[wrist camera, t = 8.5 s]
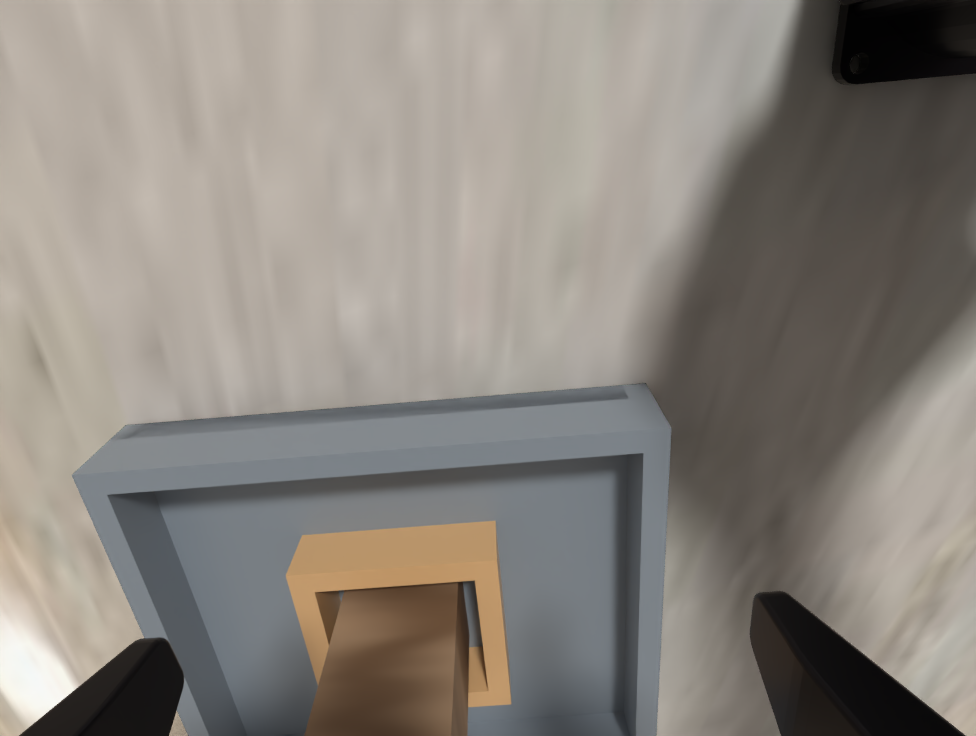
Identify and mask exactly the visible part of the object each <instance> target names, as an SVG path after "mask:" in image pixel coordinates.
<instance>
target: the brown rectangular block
mask: <svg viewBox="0 0 976 736" xmlns="http://www.w3.org/2000/svg"><path fill="white" fill-rule="evenodd" d="M469 637H470V634H469V626H468V619H467V611H466V603H465V596H464V588H463V581H461V582H448V583H434V584H420V585H406V586H393V587H379V588H365V589H352V590H344V594H343V597H342V601H341V605H340V608H339V612H338V615H337V619H336V623H335V626H334V630H333V634H332V637H331V641H330V644H329V648H328V652H327V655H326V659H325V663H324V666H323V670H322V673H321V677H320V681H319V684H318V688H317V692H316V695H315V699H314V702H313V706H312V710H311V713H310V717H309V720H308V724H307V728H306V731H305V735H304V736H467V734H468V685H469Z"/></svg>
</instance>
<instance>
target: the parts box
mask: <svg viewBox="0 0 976 736" xmlns="http://www.w3.org/2000/svg"><path fill="white" fill-rule="evenodd" d="M670 448H671V426H670V424H669V423H668V421H667V419H666V418H665V416H664V414H663V412H662V411H661V409H660V407H659V405H658V404H657V402H656V400H655V398H654V397H653V395H652V393H651V392H650V390H649V388H648V386H647V385H646V383H643V384H631V385H618V386H606V387H593V388H581V389H569V390H556V391H544V392H531V393H519V394H507V395H494V396H482V397H469V398H457V399H445V400H432V401H420V402H407V403H395V404H383V405H370V406H358V407H345V408H333V409H321V410H308V411H296V412H283V413H271V414H259V415H246V416H234V417H221V418H209V419H197V420H184V421H172V422H159V423H147V424H135V425H125V426H124V427H123V428H122V429H121V430H120V431H119V432H118V433H117V434H116V435H115V436H113V437H112V438H111V439H110V440H109V441H108V442H107V443H106V444H105V445H104V446H103V447H102V448H100V449H99V450H98V451H97V452H96V453H95V454H94V455H93V456H92V457H91V458H90V459H89V460H87V461H86V462H85V463H84V464H83V465H82V466H81V467H80V468H79V469H78V470H77V471H76V472H74V473H73V474H72V477H73V479H74V481H75V484H76V486H77V488H78V490H79V493H80V495H81V497H82V499H83V502H84V504H85V506H86V508H87V510H88V513H89V515H90V517H91V519H92V522H93V524H94V526H95V528H96V531H97V533H98V535H99V537H100V540H101V542H102V544H103V546H104V548H105V551H106V553H107V555H108V557H109V560H110V562H111V564H112V566H113V569H114V571H115V573H116V575H117V578H118V580H119V582H120V584H121V586H122V589H123V591H124V593H125V595H126V598H127V600H128V602H129V604H130V607H131V609H132V611H133V613H134V616H135V618H136V620H137V622H138V624H139V627H140V629H141V631H142V633H143V636H144V638H157V637H162V638H165V639H166V640H168V641H169V643H170V645H171V647H172V649H173V651H174V653H175V655H176V657H177V659H178V661H179V664H180V666H181V668H182V670H183V673H184V686H183V691H182V694H181V697H180V701H179V704H178V707H177V712H178V714H179V716H180V718H181V721H182V723H183V725H184V727H185V730H186V732H187V734H188V736H304V735H305V731H306V728H307V724H308V720H309V717H310V713H311V710H312V706H313V702H314V699H315V695H316V692H317V688H318V684H319V681H320V677H321V673H322V670H323V666H324V663H325V659H326V655H327V652H328V648H329V644H330V641H331V637H332V634H333V630H334V626H335V623H336V619H337V615H338V612H339V608H340V605H341V601H342V597H343V594H344V590H352V589H365V588H379V587H393V586H406V585H420V584H434V583H448V582H461V581H463V588H464V596H465V603H466V611H467V619H468V626H469V634H470V637H469V685H468V734H467V736H656V732H657V712H658V692H659V671H660V651H661V631H662V610H663V590H664V570H665V549H666V529H667V509H668V488H669V468H670Z"/></svg>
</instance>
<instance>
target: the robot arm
mask: <svg viewBox="0 0 976 736" xmlns="http://www.w3.org/2000/svg"><path fill="white" fill-rule="evenodd" d="M839 1H840V3H841V5H840V12H839V19H838V27H837V34H836V41H835V48H834V56H833V63H832V74H833V76H834V78H835V80H836V81H838V82H839V83H841V84H847V85H850V84H865V83H876V82H886V81H897V80H908V79H919V78H930V77H941V76H952V75H962V74H973V73H976V0H839ZM856 54H857V55H858V56H859V57H860V66H859V68H858V70H857V71H856V72H855V73H852V72H851V70H850V66H849V64H850V61H851V59H852V58H853V57H854V56H855V55H856ZM750 639H751V644H752V648H753V652H754V655H755V658H756V661H757V664H758V667H759V670H760V673H761V676H762V679H763V682H764V685H765V688H766V691H767V694H768V697H769V700H770V703H771V706H772V709H773V712H774V715H775V718H776V721H777V724H778V727H779V731H780V734H781V736H965V735H964V734H963V733H962V732H960V731H959V730H958V729H957V728H955V727H954V726H953V725H952V724H950V723H949V722H948V721H947V720H945V719H944V718H943V717H942V716H940V715H939V714H938V713H937V712H935V711H934V710H933V709H932V708H930V707H929V706H928V705H927V704H925V703H924V702H923V701H922V700H920V699H919V698H918V697H917V696H915V695H914V694H913V693H912V692H910V691H909V690H908V689H907V688H905V687H904V686H903V685H902V684H900V683H899V682H898V681H897V680H895V679H894V678H893V677H892V676H890V675H889V674H888V673H887V672H885V671H884V670H883V669H882V668H880V667H879V666H878V665H877V664H875V663H874V662H873V661H872V660H870V659H869V658H868V657H867V656H865V655H864V654H863V653H862V652H860V651H859V650H858V649H857V648H855V647H854V646H853V645H852V644H850V643H849V642H848V641H846V640H845V639H844V638H843V637H841V636H840V635H839V634H838V633H836V632H835V631H834V630H833V629H831V628H830V627H829V626H828V625H826V624H825V623H824V622H823V621H821V620H820V619H819V618H818V617H816V616H815V615H814V614H813V613H811V612H810V611H809V610H808V609H806V608H805V607H804V606H803V605H801V604H800V603H799V602H798V601H796V600H795V599H794V598H793V597H791V596H790V595H789V594H787V593H785V592H782V591H773V592H760V593H757V594H756V595H755V597H754V599H753V607H752V617H751V626H750ZM183 686H184V673H183V670H182V668H181V666H180V664H179V661H178V659H177V657H176V655H175V653H174V651H173V649H172V647H171V645H170V643H169V641H168V640H166V639H165V638H162V637H157V638H144V639H139V640H137V641H135V642H133V643H132V644H131V645H129V646H128V647H127V648H126V649H124V650H123V651H122V652H121V653H120V654H118V655H117V656H116V657H115V658H113V659H112V660H111V661H110V662H109V663H107V664H106V665H105V666H104V667H102V668H101V669H100V670H99V671H98V672H96V673H95V674H94V675H93V676H91V677H90V678H89V679H88V680H87V681H85V682H84V683H83V684H82V685H80V686H79V687H78V688H77V689H76V690H74V691H73V692H72V693H71V694H69V695H68V696H67V697H66V698H65V699H63V700H62V701H61V702H60V703H58V704H57V705H56V706H55V707H54V708H52V709H51V710H50V711H49V712H47V713H46V714H45V715H44V716H43V717H41V718H40V719H39V720H38V721H36V722H35V723H34V724H33V725H32V726H30V727H29V728H28V729H27V730H25V731H24V732H23V733H22V734H21V735H19V736H169V733H170V730H171V727H172V724H173V720H174V717H175V714H176V710H177V707H178V704H179V701H180V697H181V694H182V691H183Z"/></svg>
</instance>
